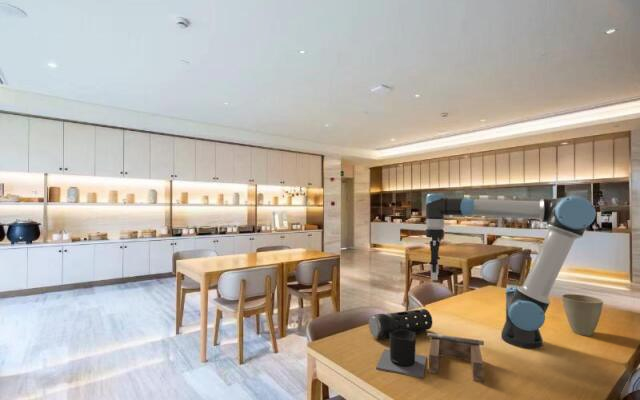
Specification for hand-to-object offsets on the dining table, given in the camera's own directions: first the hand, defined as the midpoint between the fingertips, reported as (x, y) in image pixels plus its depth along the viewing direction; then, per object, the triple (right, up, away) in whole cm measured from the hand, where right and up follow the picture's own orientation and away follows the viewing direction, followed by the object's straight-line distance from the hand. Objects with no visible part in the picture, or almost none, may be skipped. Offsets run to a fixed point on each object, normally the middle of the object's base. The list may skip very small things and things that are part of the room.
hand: (434, 276), depth 145 cm
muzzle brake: (-15, -27, +2) cm, 31 cm away
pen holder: (-20, -26, -24) cm, 41 cm away
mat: (-20, -26, -24) cm, 41 cm away
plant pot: (+70, -28, +7) cm, 76 cm away
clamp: (-2, -26, -26) cm, 37 cm away
